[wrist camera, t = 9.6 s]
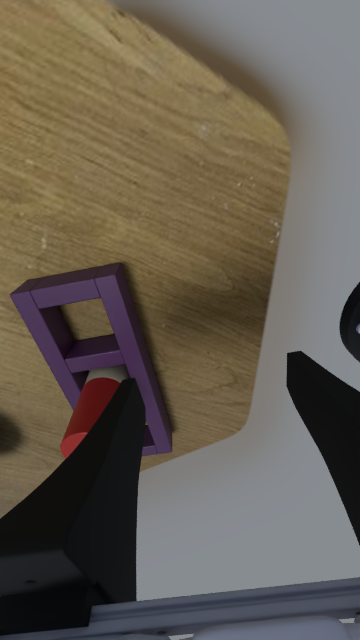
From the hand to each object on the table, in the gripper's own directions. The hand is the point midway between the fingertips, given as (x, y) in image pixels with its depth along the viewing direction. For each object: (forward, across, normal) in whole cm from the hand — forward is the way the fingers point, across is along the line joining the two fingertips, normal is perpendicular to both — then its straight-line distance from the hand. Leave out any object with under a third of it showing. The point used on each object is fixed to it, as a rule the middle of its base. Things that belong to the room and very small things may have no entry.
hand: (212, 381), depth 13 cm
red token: (+6, +8, +6) cm, 12 cm away
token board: (+9, +8, +6) cm, 14 cm away
